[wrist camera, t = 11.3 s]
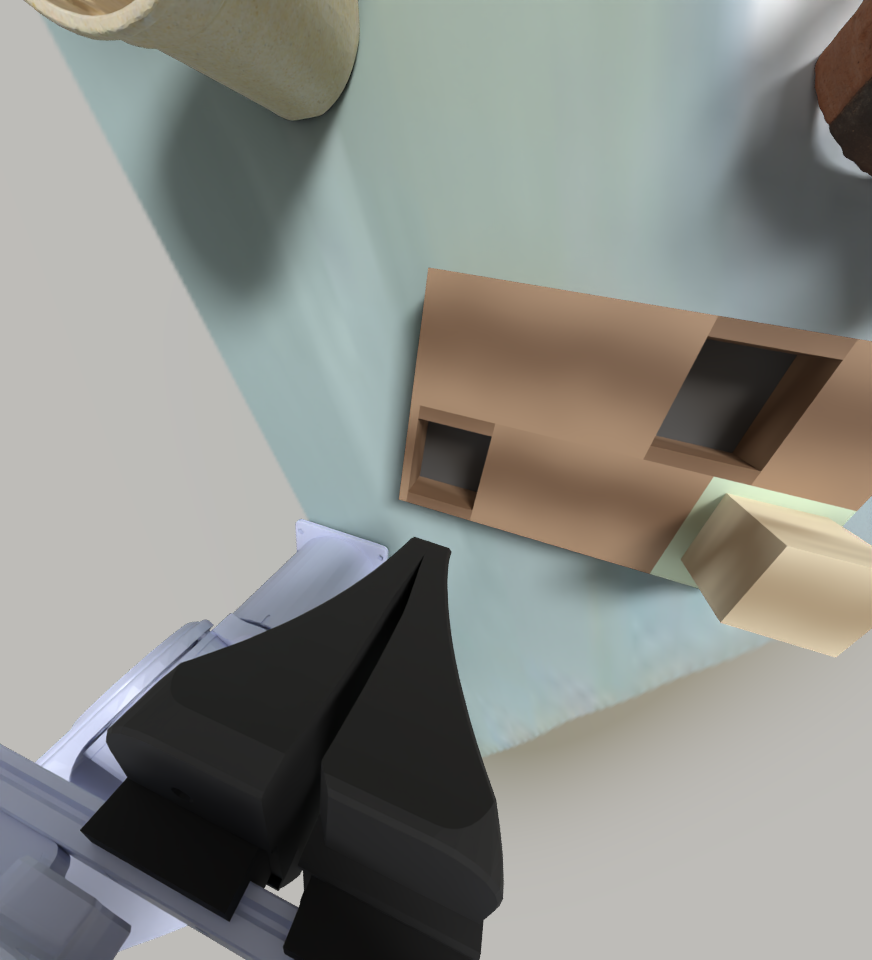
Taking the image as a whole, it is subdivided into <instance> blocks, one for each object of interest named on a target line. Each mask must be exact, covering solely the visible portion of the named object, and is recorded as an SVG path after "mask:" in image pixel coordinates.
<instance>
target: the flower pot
mask: <svg viewBox="0 0 872 960" xmlns="http://www.w3.org/2000/svg"><path fill="white" fill-rule="evenodd" d="M24 1H25V2H27V3H28V4H29V5H31V6H32V7H33V8H34V9H35V10H36V11H38V12H39V13H40V14H42V15H43V16H45V17H46V18H48V19H49V20H51V21H52V22H54V23H56V24H57V25H59V26H61V27H63V28H65V29H67V30H69V31H71V32H73V33H76V34H78V35H81V36H84V37H88V38H91V39H95V40H106V41H108V40H122V41H124V42H126V43H128V44H131V45H135V46H138V47H143V48H148V49H158V50H160V51H161V52H163V53H165V54H167V55H169V56H171V57H173V58H175V59H176V60H178V61H180V62H182V63H184V64H186V65H188V66H189V67H191V68H193V69H195V70H197V71H199V72H200V73H202V74H204V75H206V76H208V77H210V78H211V79H213V80H215V81H217V82H219V83H221V84H223V85H225V86H226V87H228V88H230V89H232V90H234V91H236V92H237V93H239V94H241V95H243V96H245V97H247V98H248V99H250V100H252V101H254V102H256V103H258V104H259V105H261V106H263V107H265V108H267V109H268V110H270V111H272V112H273V113H275V114H277V115H278V116H280V117H282V118H285V119H287V120H292V121H294V120H300V119H305V118H311V117H315V116H321V115H322V114H324V113H325V112H326V111H327V110H328V109H329V108H330V107H331V106H332V105H333V104H334V103H335V101H336V100H337V99H338V98H339V96H340V94H341V93H342V91H343V89H344V88H345V85H346V83H347V81H348V79H349V77H350V74H351V71H352V68H353V65H354V61H355V57H356V53H357V48H358V42H359V33H360V28H359V9H358V0H24Z"/></svg>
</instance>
